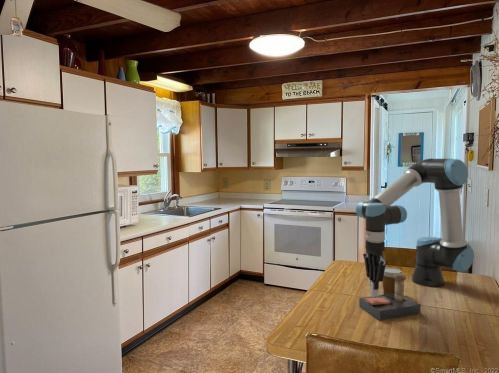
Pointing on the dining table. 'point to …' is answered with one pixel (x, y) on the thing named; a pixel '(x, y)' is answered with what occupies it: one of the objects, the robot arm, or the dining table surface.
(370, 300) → the keeper tab
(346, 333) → the dining table surface
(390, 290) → the disposable coffee cup
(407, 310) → the plate
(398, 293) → the peg
